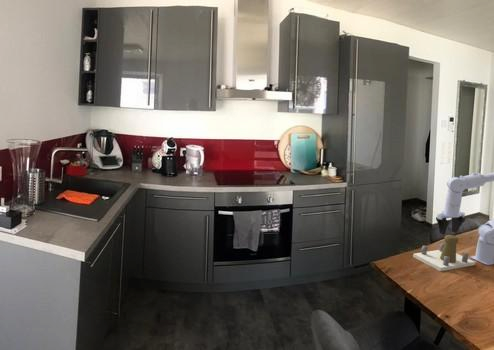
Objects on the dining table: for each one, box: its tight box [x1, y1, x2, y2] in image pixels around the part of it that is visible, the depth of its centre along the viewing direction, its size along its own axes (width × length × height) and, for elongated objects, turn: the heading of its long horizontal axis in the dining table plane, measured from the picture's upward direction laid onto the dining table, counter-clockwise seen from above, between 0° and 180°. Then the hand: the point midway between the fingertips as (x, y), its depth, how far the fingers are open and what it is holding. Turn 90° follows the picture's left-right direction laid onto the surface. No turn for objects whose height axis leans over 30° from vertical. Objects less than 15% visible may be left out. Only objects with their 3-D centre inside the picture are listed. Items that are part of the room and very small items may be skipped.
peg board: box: [412, 242, 476, 272], centre depth 144 cm, size 20×14×5 cm
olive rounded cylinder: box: [440, 234, 459, 263], centre depth 142 cm, size 6×6×11 cm
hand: (448, 232), depth 150 cm, fingers open, 7 cm apart
